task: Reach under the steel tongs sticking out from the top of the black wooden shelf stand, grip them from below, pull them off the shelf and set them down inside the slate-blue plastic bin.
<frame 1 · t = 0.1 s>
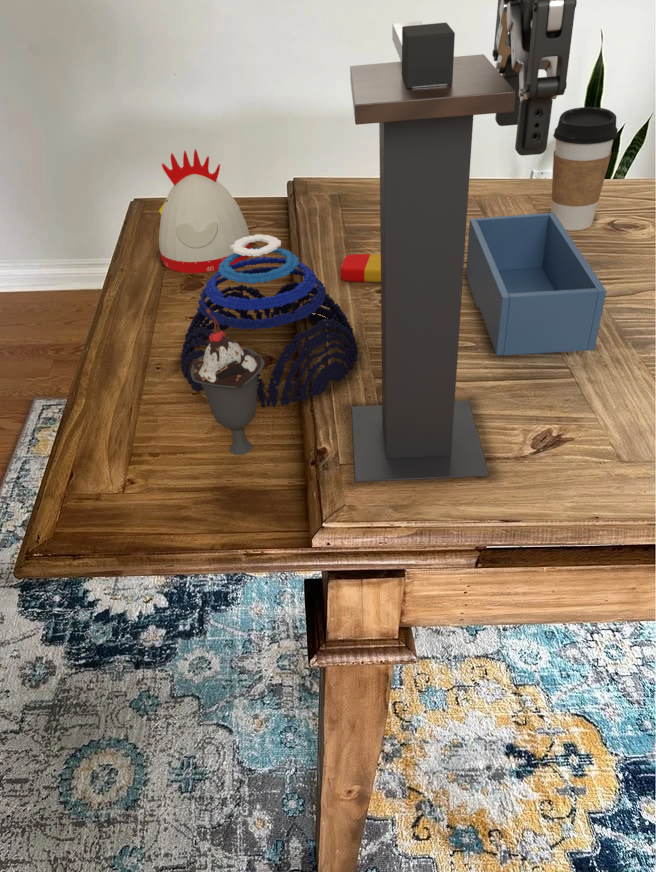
hand: (518, 138, 59), 26 cm above the table, tool pointing down, fingers open, 8 cm apart
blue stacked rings: (271, 365, 85), on the table
coffee cup: (570, 224, 109), on the table
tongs: (416, 59, 55), point 32 cm above the table, touching shelf stand
sundae: (241, 456, 72), on the table
bin: (523, 312, 89), on the table
shelf stand: (415, 446, 71), on the table
kitchen timer: (207, 254, 112), on the table
popsicle: (396, 276, 101), on the table
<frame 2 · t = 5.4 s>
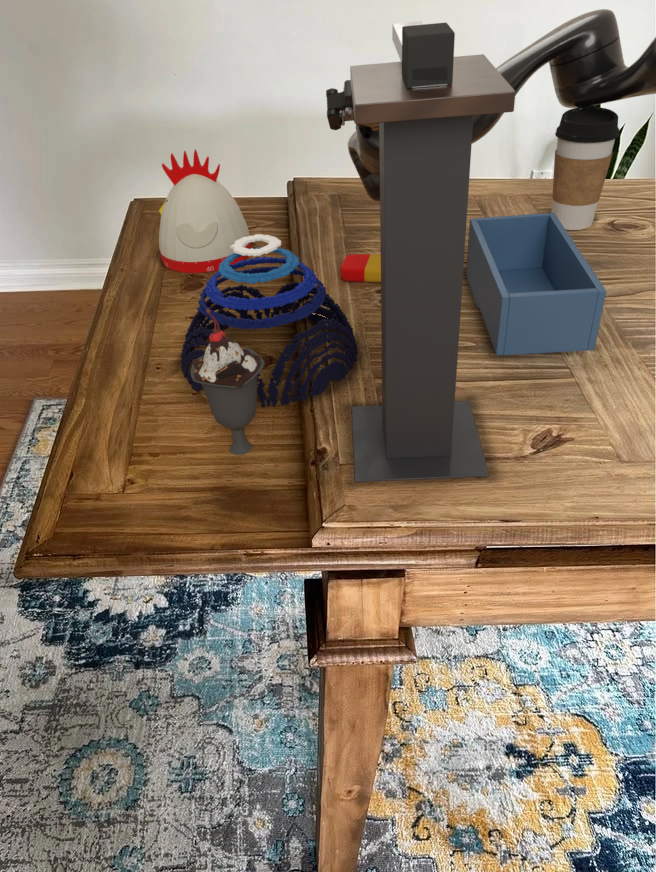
hand: (399, 82, 70), 27 cm above the table, tool pointing upward, fingers open, 8 cm apart
coffee cup: (570, 224, 109), on the table, touching arm
everything else where it was.
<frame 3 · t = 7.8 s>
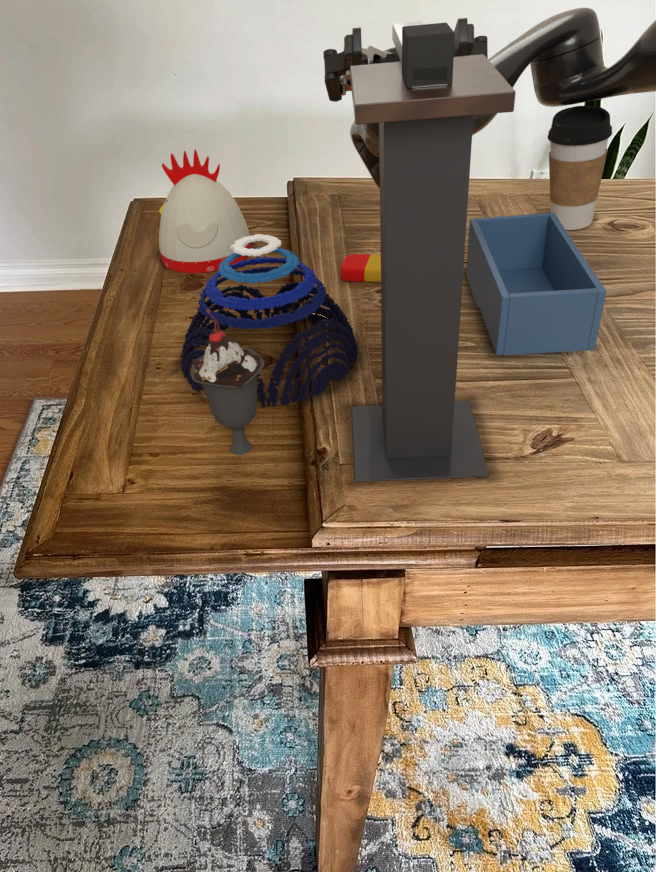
hand: (409, 35, 59), 33 cm above the table, tool pointing upward, fingers open, 8 cm apart
coffee cup: (571, 223, 109), on the table
everything else where it was.
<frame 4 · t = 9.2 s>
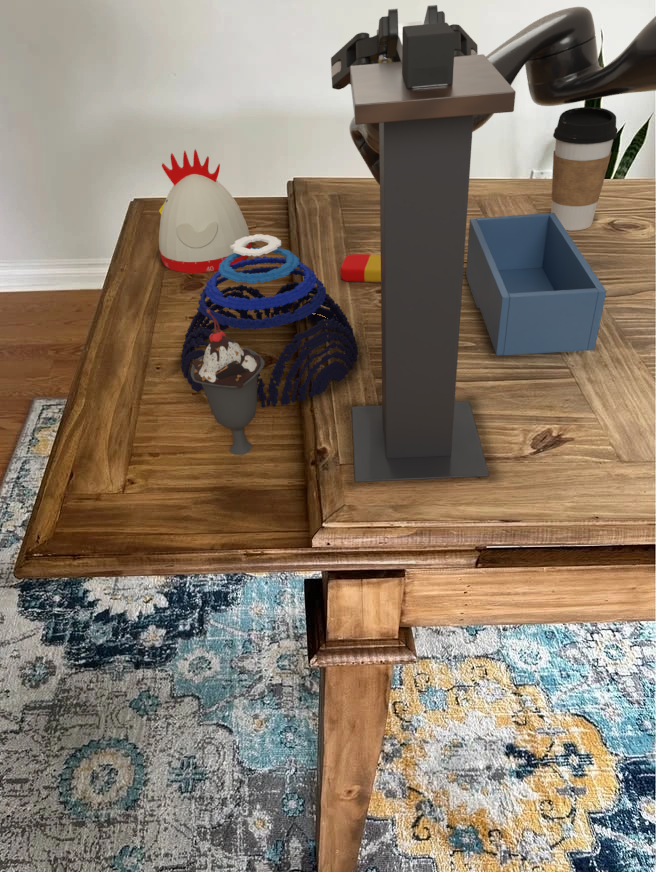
hand: (412, 20, 56), 34 cm above the table, tool pointing upward, fingers closed on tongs, 2 cm apart
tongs: (416, 59, 55), point 32 cm above the table, touching gripper, shelf stand
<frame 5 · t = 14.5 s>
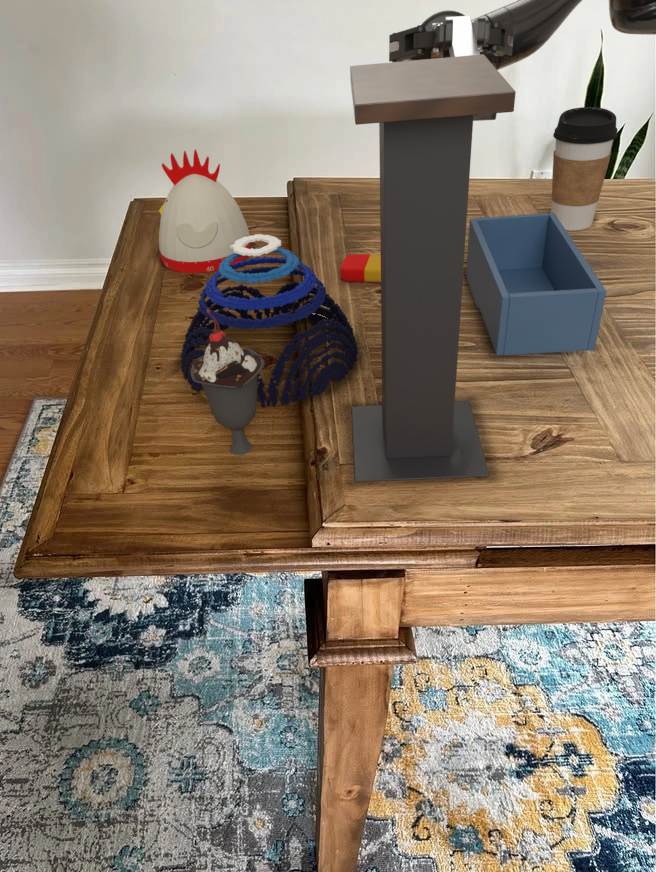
hand: (464, 31, 69), 31 cm above the table, tool pointing upward, fingers closed on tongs, 2 cm apart
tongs: (466, 71, 69), point 28 cm above the table, tilted 14°, touching gripper
everything else where it was.
when the fingers open (10 cm above the table, at t = 20.2 s): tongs drops 3 cm, resting on bin.
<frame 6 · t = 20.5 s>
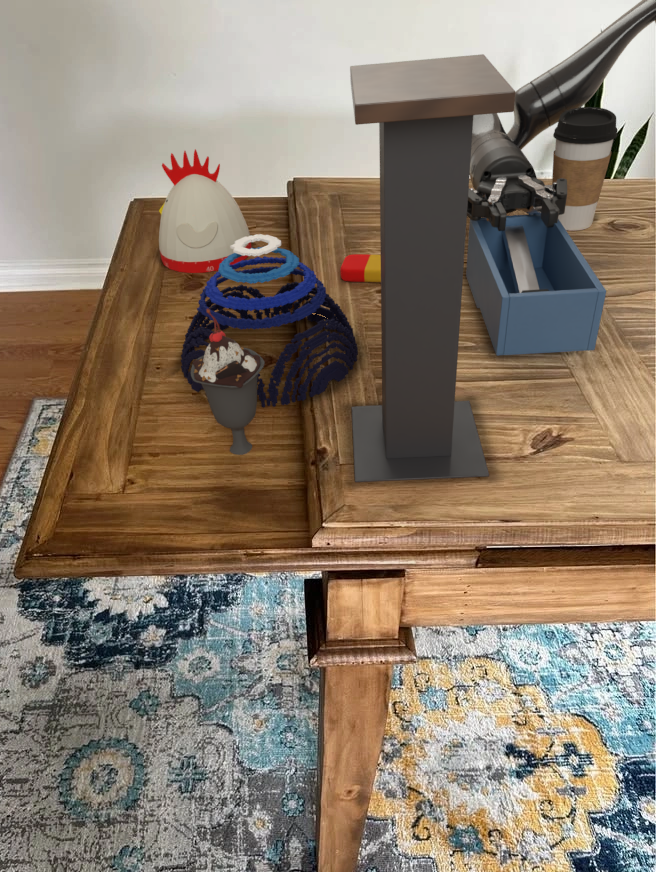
hand: (526, 221, 86), 10 cm above the table, tool horizontal, fingers open, 5 cm apart
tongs: (523, 280, 89), point 3 cm above the table, tilted 16°, touching bin
everything else where it was.
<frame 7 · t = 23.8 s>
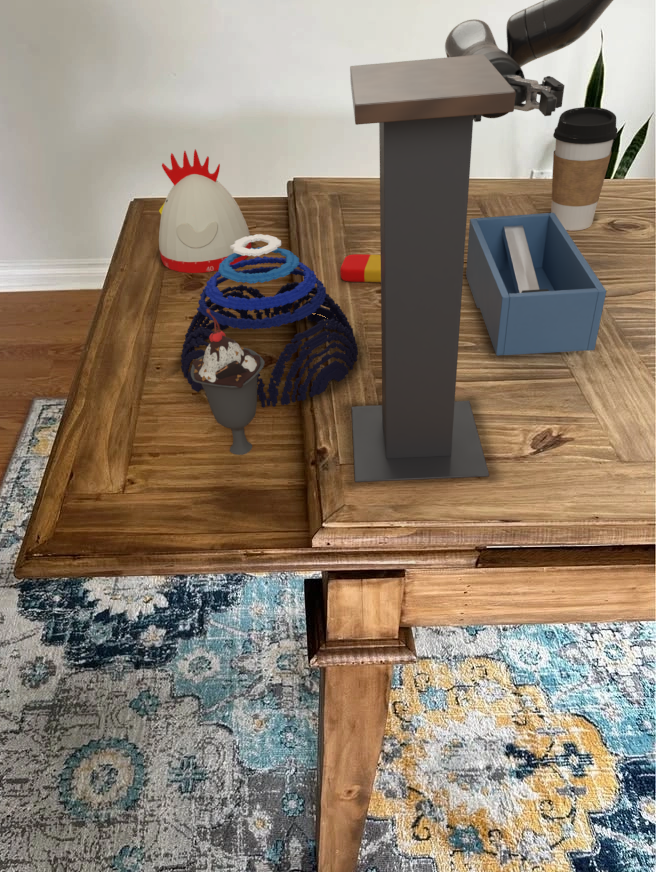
hand: (513, 110, 90), 19 cm above the table, tool horizontal, fingers open, 8 cm apart
nothing on the table moved.
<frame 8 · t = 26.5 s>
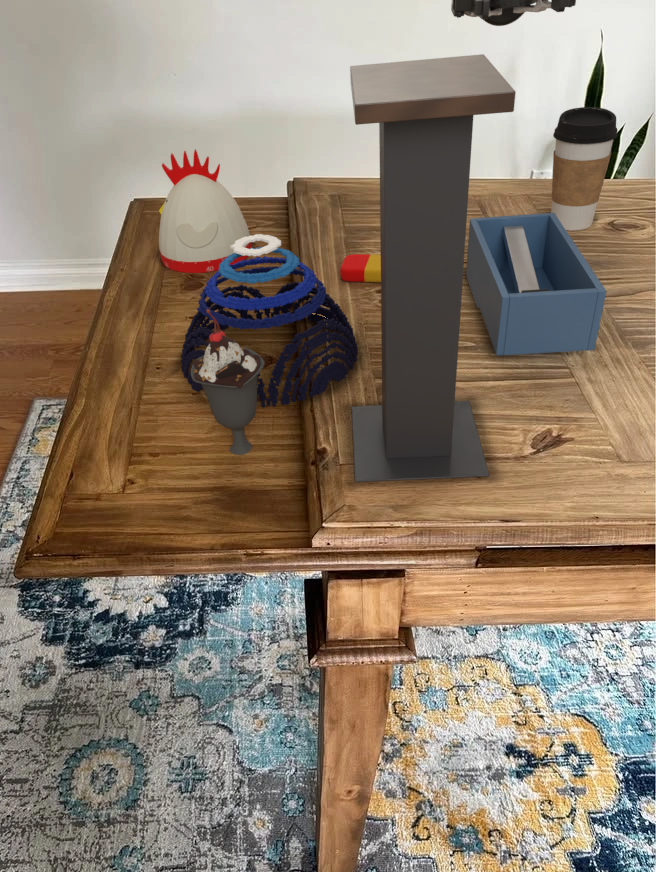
hand: (524, 4, 83), 30 cm above the table, tool horizontal, fingers open, 8 cm apart
nothing on the table moved.
at the end: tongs inside the target area in the bin (1.8 cm from its centre), point 3.3 cm above the bin's base; the gripper is holding nothing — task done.
